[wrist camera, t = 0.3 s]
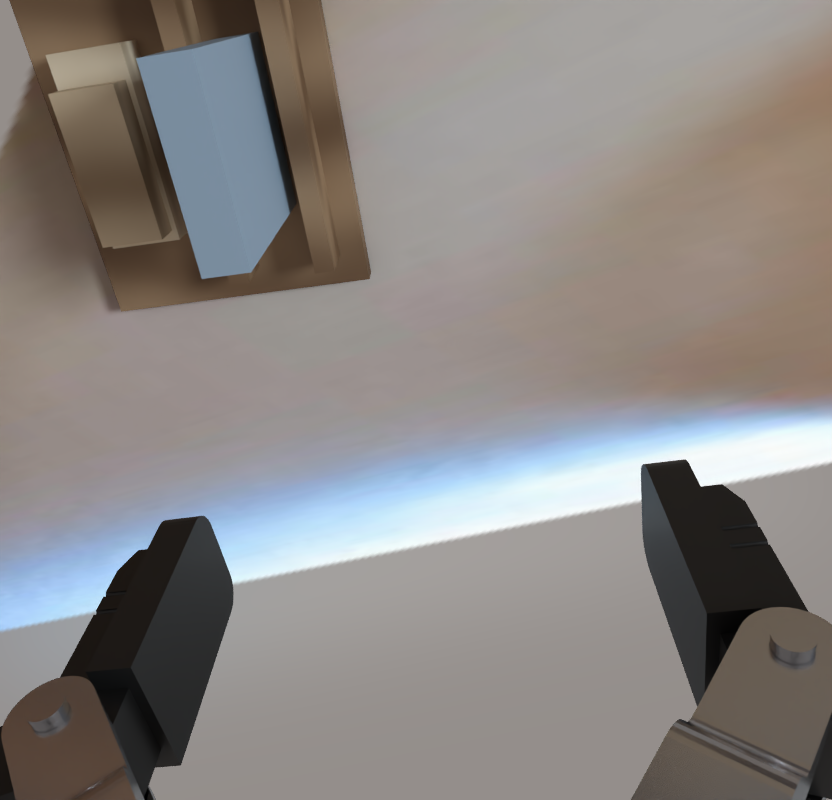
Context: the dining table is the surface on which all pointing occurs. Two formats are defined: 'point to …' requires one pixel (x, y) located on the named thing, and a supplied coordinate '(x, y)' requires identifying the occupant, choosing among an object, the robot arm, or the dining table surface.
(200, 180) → the tall sheet
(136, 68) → the offcut stack
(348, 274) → the offcut rack
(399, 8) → the dining table surface
